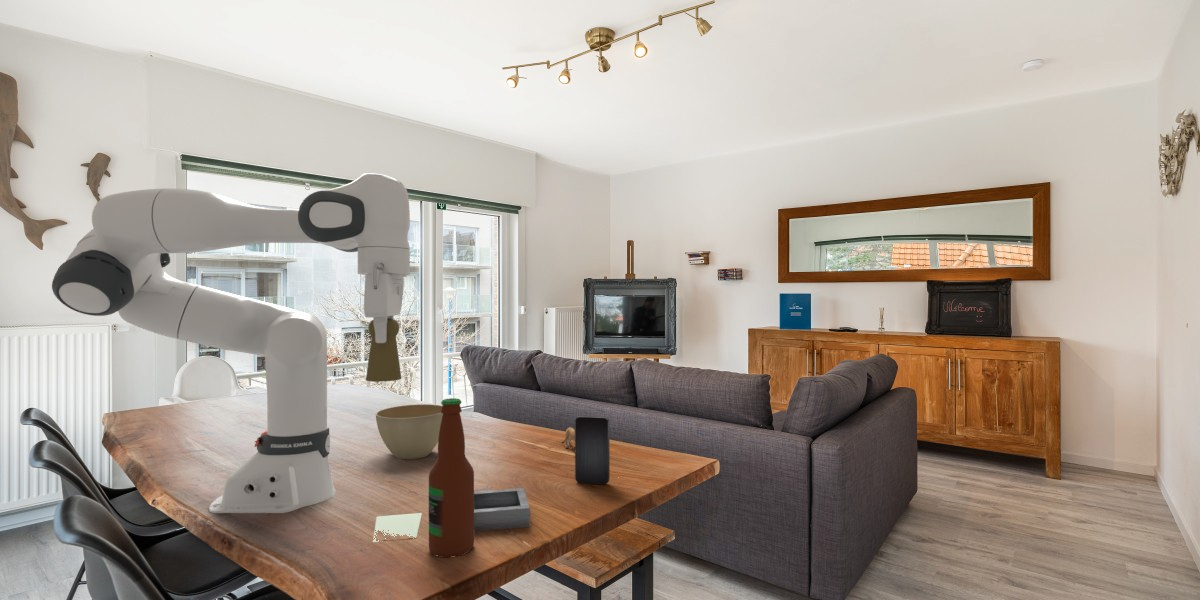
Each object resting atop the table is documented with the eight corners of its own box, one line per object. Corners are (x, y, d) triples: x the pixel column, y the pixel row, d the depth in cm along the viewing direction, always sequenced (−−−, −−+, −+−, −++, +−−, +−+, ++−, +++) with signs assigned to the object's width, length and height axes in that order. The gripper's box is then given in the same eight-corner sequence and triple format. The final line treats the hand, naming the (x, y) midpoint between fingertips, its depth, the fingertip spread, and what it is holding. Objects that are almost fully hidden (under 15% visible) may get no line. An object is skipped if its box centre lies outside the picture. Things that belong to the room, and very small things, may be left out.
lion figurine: (595, 451, 155) (595, 424, 155) (583, 454, 152) (583, 427, 152) (566, 443, 164) (566, 418, 164) (555, 446, 161) (555, 420, 161)
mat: (341, 547, 95) (341, 545, 95) (355, 520, 107) (355, 518, 107) (416, 540, 98) (416, 538, 98) (422, 514, 110) (422, 512, 110)
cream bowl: (386, 448, 159) (386, 405, 159) (452, 446, 161) (451, 403, 161) (367, 467, 141) (366, 418, 141) (441, 464, 143) (441, 416, 143)
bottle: (444, 538, 99) (444, 395, 99) (482, 543, 97) (481, 397, 97) (419, 556, 92) (419, 402, 92) (459, 562, 90) (459, 404, 90)
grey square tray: (465, 532, 101) (465, 513, 101) (466, 509, 112) (466, 492, 112) (529, 527, 104) (529, 507, 104) (524, 505, 115) (523, 487, 115)
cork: (407, 377, 105) (408, 318, 105) (389, 382, 99) (389, 319, 99) (378, 376, 106) (378, 317, 106) (358, 380, 100) (358, 318, 100)
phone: (609, 483, 128) (609, 417, 128) (608, 485, 127) (608, 418, 127) (575, 481, 130) (575, 415, 130) (574, 482, 129) (574, 416, 129)
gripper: (395, 261, 93) (395, 345, 93) (408, 268, 113) (408, 337, 113) (354, 261, 92) (353, 346, 92) (374, 267, 112) (374, 338, 112)
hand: (383, 341), depth 102 cm, fingers closed on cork, 5 cm apart
